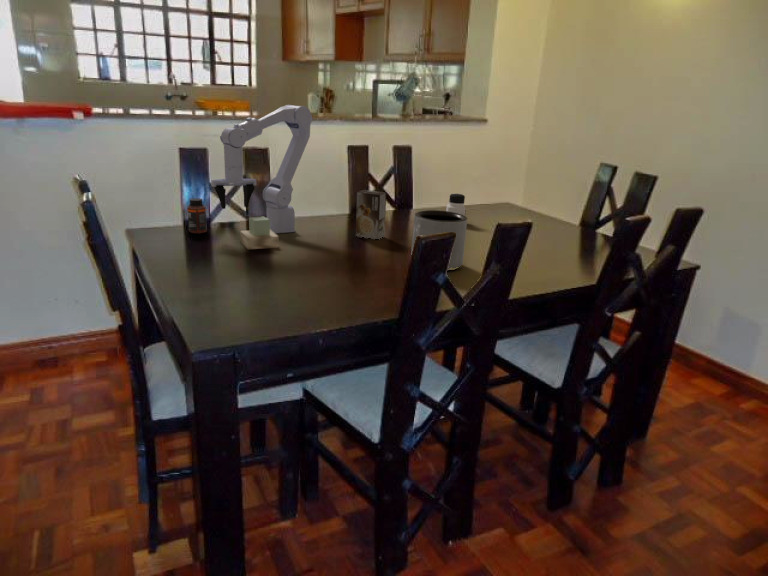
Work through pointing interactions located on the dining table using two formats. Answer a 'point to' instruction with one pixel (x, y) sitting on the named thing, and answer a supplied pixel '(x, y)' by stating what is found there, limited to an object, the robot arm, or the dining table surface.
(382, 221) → the coffee box
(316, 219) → the dining table surface
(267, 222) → the sage cube
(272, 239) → the birch base
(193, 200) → the supplement bottle
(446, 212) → the planter
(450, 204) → the medicine bottle
